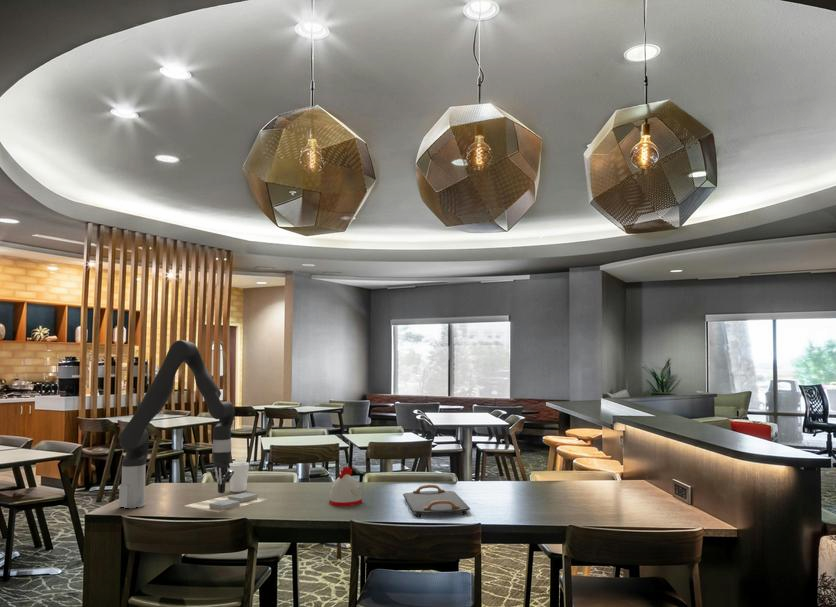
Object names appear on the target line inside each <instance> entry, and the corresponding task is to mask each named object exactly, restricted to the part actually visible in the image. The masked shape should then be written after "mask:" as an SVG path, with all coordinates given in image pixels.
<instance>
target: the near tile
mask: <svg viewBox="0 0 836 607" xmlns="http://www.w3.org/2000/svg"><path fill="white" fill-rule="evenodd" d="M239 505H240V501H235V500H229V499H226V500H222V501H217V502H213V503H209V507H210V508H212V509H218V510H225V511H227V510H226V509H229V510H231V509H230V508H233V507H237V506H239ZM237 508H238V507H237ZM233 509H234V508H233Z"/></svg>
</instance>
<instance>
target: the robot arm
mask: <svg viewBox="0 0 836 607" xmlns="http://www.w3.org/2000/svg"><path fill="white" fill-rule="evenodd" d="M183 363H184V364H185V365H187V367H188V368H190V371H191V372H192V374H193V377H194V380H195V381H194V382H195V385H196V386H197V387H196V388H197V389H198V391H199V393H200V394H201V396H202V397H203V399H204V400H205V405H206V407H207V410H208V413H209V414H210V416H211V417H212V418H213V419H215V420H218V423H217V424H216V425H215V426H213V434H212V435H213V436H212V437H213V438H212V453H211V454H212V456H211V457H212V463H213V467H212V468H210V469H209V472H210V474H211V475H210V476H211V477H212V479H213V481H214V483H215V482H216V484H217V492H218V494H224V493H225V492H226V483H230V479H231V477H232V475H233V474H234V471H231V469H230V463H231V461H232V426H233V421H234V418H235V413H236V412H235V411H236V410H235V406H234V404H233V403H232V402H230V401H229V400H228V401H221V400H220V397H221V395H222V393H221V390H220V387H218V385H217V383H216V382H215V381H214V379H213V377H212V376H211V375H210V372H209V370H208V368H207V367H206V364H205V362H204V360H203V358H202V355H201V353H200V350H199V349H198V346H197V345H196V344H195V343H194V342H191V341H187V340H184V339H183V340H182V339H179V340H176V341H174V342H173V343H172V344H171V346H170V347H169V349H168V351H167V353H166V355H165V357H164V360H163V361H162V364H161V367H160V368H159V370H158V372H157V374H156V376H155V377H154V379H153V381H152V382H151V384H150V386H149V387H148V389H147V391H146V392H145V394H144V396H143V398H142V400H141V402H140V403H139V405H138V407H137V409H136V411H135V412H134V414H133V416H132V417H131V419H130V420H129V422H128V423H127V425H125V427H124V428H123V430H122V431H121V433H120V435H119V445H120V447H121V448H122V449H123V450H126V453H125V456H124V457H123V459H122V461H121V483H120V484H119V486H118V487H119V488H118V489H119V492H118V507H119V506H120V507H124V508H123V509H125V508H129V509H137V508H136V507H138V508H141V507H145V505H146V470H147V469H146V466H147V464H146V462H147V458H148V455H149V440H150V439H149V433H148V431H147V427H148V425H149V424H150V423H151V421H153V419H154V418H155V417H156V416H157V415H158V414H159V413H160V412H161V411H162V410H163V409H164V407H165V405H166V404H167V402H168V400H169V399H170V397H171V396H172V393H173V390H174V384H175V377H176V374H177V372H178V370H179V368H180V367H181V365H182V364H183ZM120 507H119V508H120Z"/></svg>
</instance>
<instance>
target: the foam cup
mask: <svg viewBox="0 0 836 607" xmlns="http://www.w3.org/2000/svg"><path fill="white" fill-rule="evenodd" d="M229 464H230V469H231V471H234V474H233V475H232V477H231V479H230V481H229V485H230V486H229V487H230V491H231V492H234V493H236V492H237V493H238V492H239V493H240V492H241V493H242V492H244V491H246V490H247V485H248V484H247V482H248V475H249V469H250V462H247V461H246V462H244V461H239V462H229Z"/></svg>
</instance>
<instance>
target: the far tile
mask: <svg viewBox="0 0 836 607" xmlns="http://www.w3.org/2000/svg"><path fill="white" fill-rule="evenodd" d="M235 494H236V493H235ZM231 495H232V494H231ZM227 496H228V495H227ZM257 498H258V494H257V493H251V492H250V493H249V492H241V493H237V494H236V495H232V496H228V499H229V500H235V501H240V503H243V502H247V501H251V500H255V499H257Z"/></svg>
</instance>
